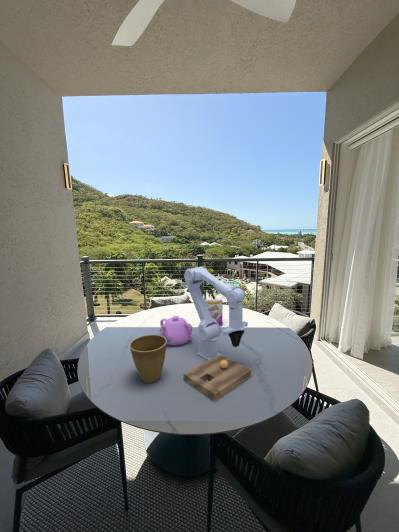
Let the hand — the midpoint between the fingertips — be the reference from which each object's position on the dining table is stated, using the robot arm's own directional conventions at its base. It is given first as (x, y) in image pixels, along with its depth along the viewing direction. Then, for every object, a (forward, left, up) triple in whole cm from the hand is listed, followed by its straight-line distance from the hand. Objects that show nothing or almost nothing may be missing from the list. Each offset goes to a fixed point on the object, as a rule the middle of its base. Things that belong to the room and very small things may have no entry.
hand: (235, 345), depth 112 cm
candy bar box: (-40, +27, -11) cm, 50 cm away
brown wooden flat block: (0, -12, -10) cm, 16 cm away
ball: (0, -8, -6) cm, 9 cm away
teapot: (-39, -5, -11) cm, 41 cm away
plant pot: (-20, -32, -11) cm, 39 cm away
